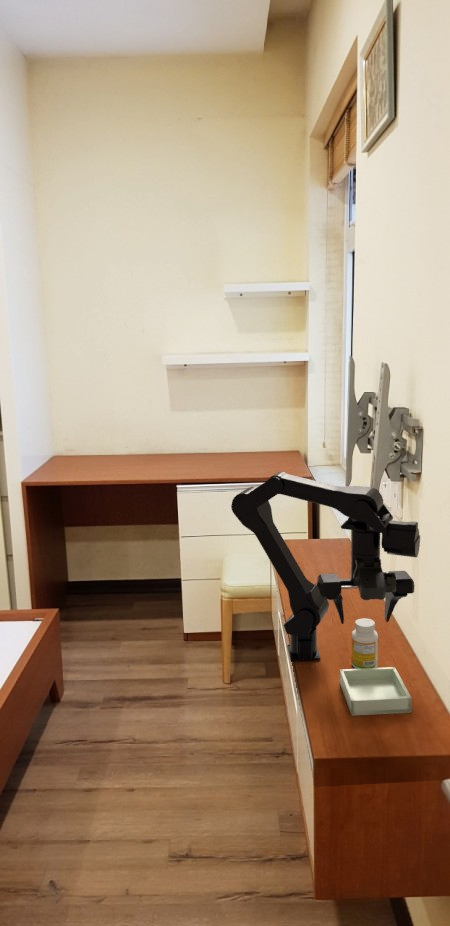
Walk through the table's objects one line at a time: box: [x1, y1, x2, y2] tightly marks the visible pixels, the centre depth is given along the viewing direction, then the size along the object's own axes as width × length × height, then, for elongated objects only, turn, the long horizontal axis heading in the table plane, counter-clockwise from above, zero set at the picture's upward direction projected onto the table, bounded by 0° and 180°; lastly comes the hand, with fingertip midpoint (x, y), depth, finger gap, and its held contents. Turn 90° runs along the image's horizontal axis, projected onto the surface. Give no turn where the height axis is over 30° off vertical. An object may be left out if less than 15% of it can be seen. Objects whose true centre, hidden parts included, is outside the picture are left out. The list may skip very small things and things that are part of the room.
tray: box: [339, 666, 412, 717], centre depth 127 cm, size 11×11×3 cm
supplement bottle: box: [351, 617, 379, 669], centre depth 138 cm, size 5×5×10 cm
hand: (364, 622), depth 137 cm, fingers open, 9 cm apart
